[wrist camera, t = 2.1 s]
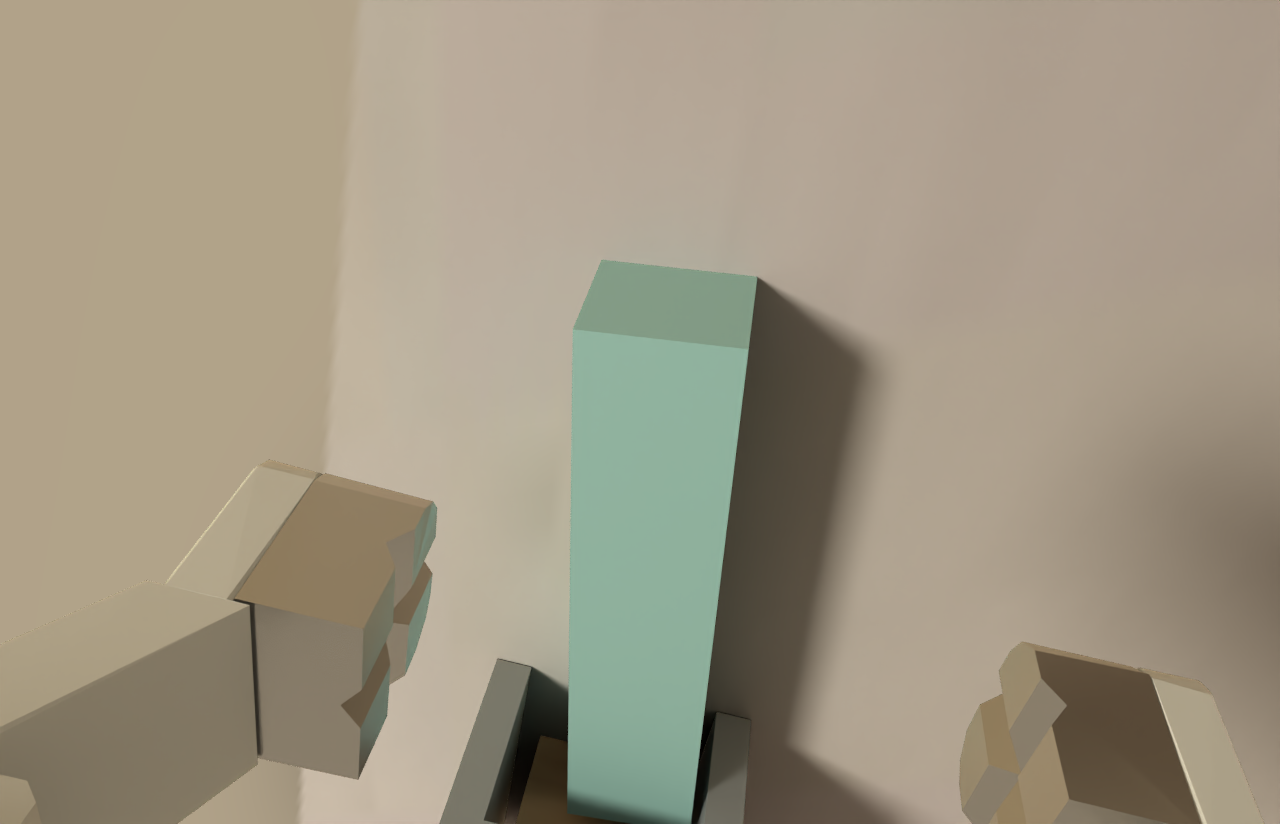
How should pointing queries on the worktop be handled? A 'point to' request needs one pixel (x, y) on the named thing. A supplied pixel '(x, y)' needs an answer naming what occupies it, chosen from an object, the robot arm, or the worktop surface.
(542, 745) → the cube
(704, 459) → the bar
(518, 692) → the tunnel
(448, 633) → the worktop surface
